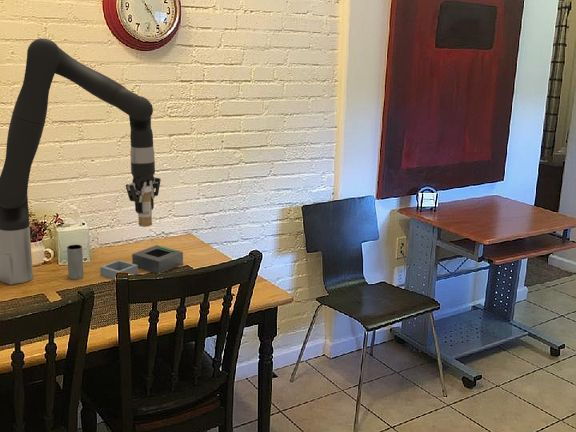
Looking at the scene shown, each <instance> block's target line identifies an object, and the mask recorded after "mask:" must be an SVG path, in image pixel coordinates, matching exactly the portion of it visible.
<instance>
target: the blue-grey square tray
mask: <svg viewBox="0 0 576 432" xmlns="http://www.w3.org/2000/svg"><path fill="white" fill-rule="evenodd" d="M99 268H100V269H99V270H100V271H99V272H100V276H101V277H105V278H108V279H111V280H114V281H116V280H115V277H116V273H118V272H126V273H128V274H136V275H138V274H139V268H138V265H136V264H132V263H131V262H129V261H126V260H121V259H118V260H114V261H112V262H110V263H109V262H108V263H107V264H104V265H100V266H99Z"/></svg>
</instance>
